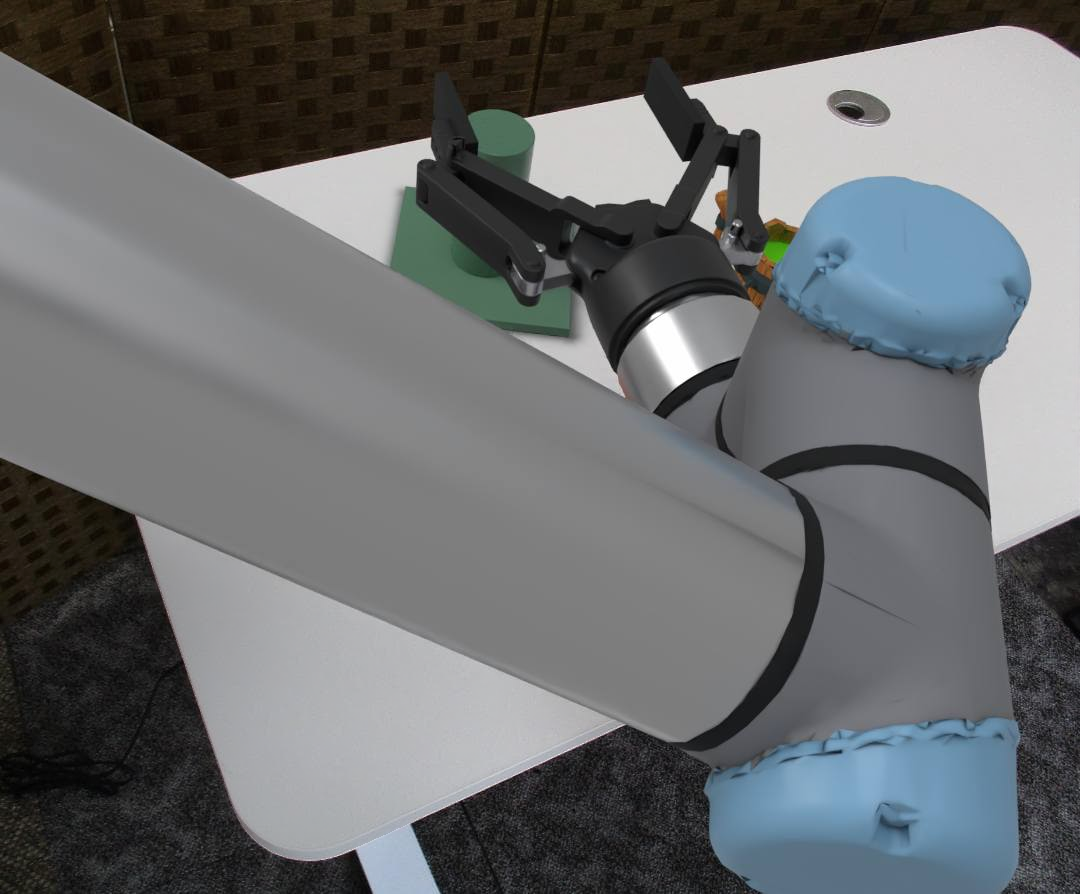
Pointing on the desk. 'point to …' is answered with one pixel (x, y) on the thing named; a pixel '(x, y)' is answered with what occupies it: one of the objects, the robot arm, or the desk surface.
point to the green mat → (470, 277)
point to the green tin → (507, 148)
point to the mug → (772, 254)
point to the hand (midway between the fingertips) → (550, 84)
